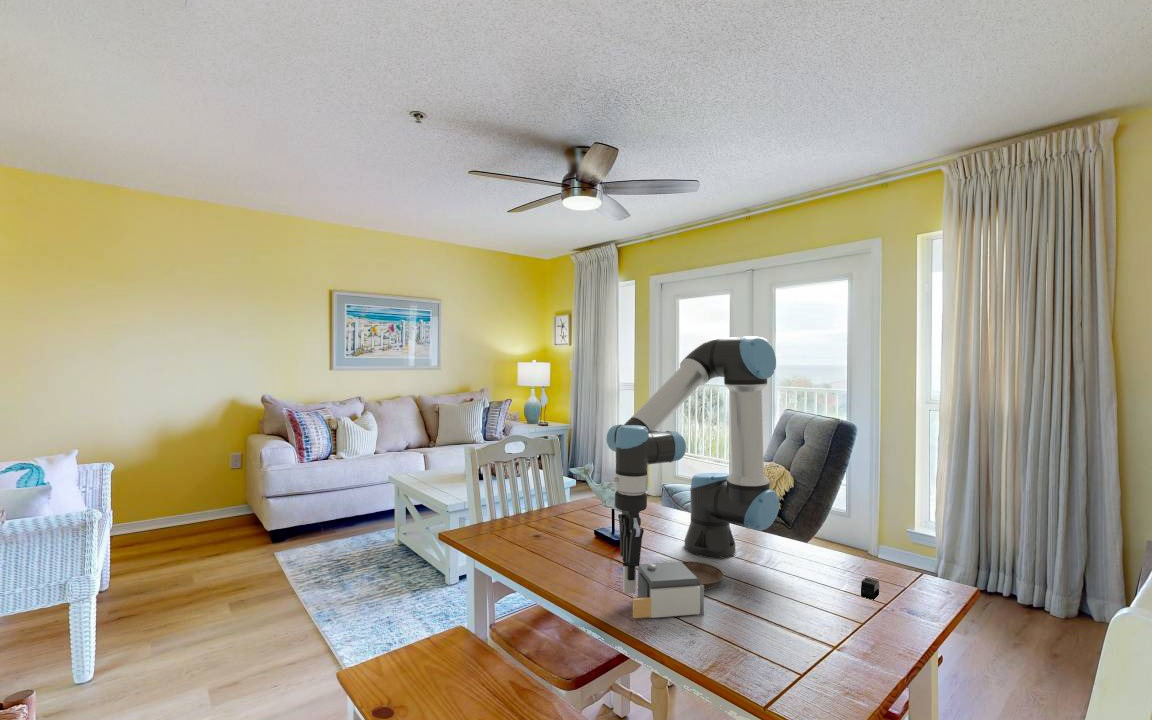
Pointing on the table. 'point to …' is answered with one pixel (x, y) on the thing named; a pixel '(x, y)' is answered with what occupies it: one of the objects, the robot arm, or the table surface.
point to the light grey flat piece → (670, 602)
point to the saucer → (705, 573)
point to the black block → (869, 588)
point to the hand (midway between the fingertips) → (629, 591)
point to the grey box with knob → (664, 577)
